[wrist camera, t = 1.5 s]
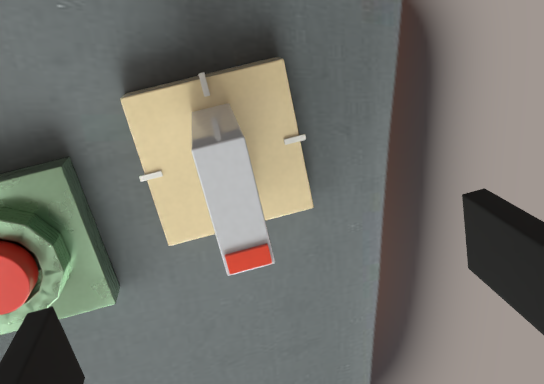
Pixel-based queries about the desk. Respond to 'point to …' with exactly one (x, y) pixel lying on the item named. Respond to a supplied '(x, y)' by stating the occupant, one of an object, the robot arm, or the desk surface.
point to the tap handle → (230, 189)
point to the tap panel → (256, 129)
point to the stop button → (15, 276)
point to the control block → (55, 241)
